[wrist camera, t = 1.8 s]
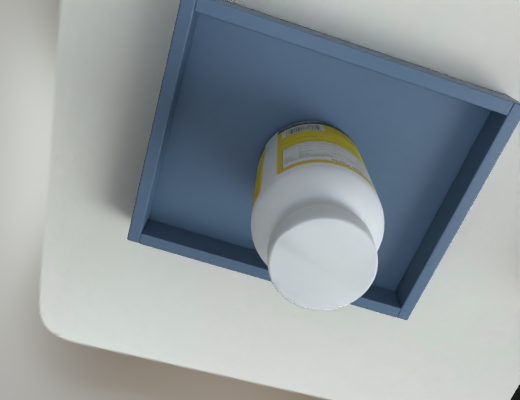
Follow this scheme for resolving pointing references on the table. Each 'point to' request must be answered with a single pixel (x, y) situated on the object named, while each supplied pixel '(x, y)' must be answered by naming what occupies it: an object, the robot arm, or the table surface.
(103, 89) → the table surface
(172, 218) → the tray
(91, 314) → the table surface
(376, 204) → the pill bottle
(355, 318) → the table surface
